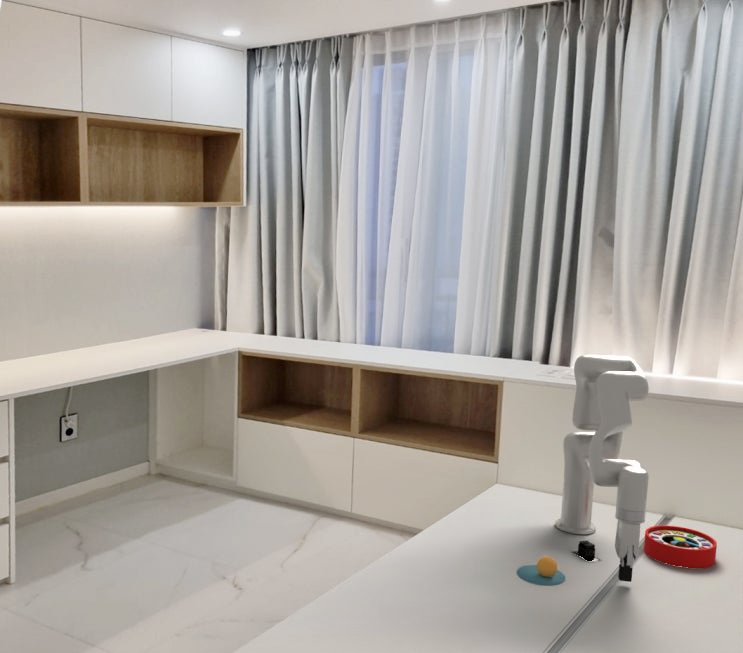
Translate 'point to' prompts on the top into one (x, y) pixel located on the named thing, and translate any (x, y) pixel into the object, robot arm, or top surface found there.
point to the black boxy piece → (586, 550)
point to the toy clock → (680, 546)
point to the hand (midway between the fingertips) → (624, 579)
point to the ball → (547, 566)
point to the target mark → (539, 576)
